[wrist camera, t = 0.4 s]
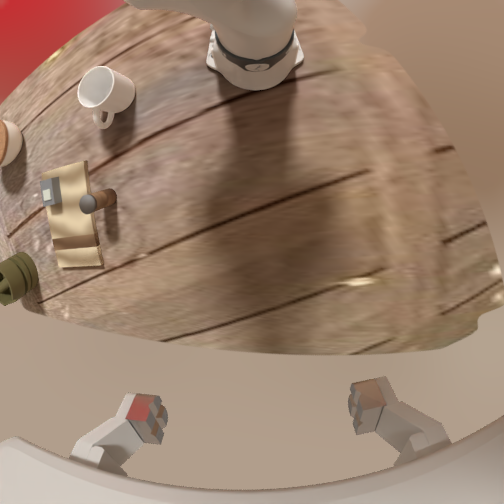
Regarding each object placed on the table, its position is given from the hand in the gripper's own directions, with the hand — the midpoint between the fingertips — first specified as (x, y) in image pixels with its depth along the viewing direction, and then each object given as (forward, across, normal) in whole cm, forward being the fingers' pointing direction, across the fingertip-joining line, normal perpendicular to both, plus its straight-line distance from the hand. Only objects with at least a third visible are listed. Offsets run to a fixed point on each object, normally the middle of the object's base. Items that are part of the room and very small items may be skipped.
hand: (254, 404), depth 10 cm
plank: (+47, +43, -4) cm, 64 cm away
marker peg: (+47, +31, -6) cm, 56 cm away
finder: (+45, +46, -11) cm, 65 cm away
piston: (+47, +68, +8) cm, 83 cm away
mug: (+47, +26, -26) cm, 60 cm away
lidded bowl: (+47, +61, -28) cm, 82 cm away
